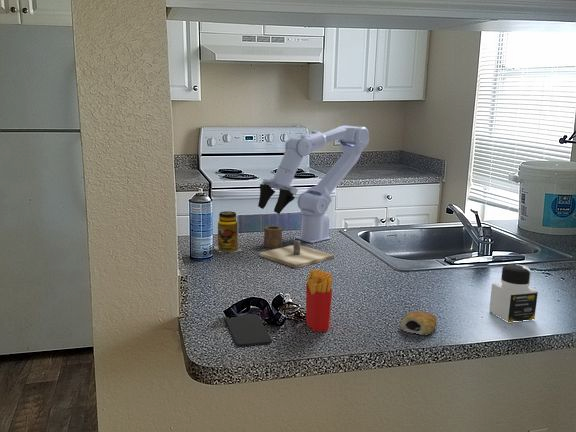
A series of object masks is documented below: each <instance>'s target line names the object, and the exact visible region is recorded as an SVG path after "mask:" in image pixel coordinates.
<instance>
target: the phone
mask: <svg viewBox="0 0 576 432" xmlns="http://www.w3.org/2000/svg"><path fill="white" fill-rule="evenodd" d="M240 315H241V316H237V315H236V316H237V317H231V318H229V317H227V316H226V317H224V321H225V323H226V326H227V328H228V330H229V332H230V334H231V337H232V339H233V341H234V343H235V345H236V347H239V348H241V347H242V348H243V347H252V346H261V345H270V344H272V341H273V339H272V337H271V335H270V333H269V332H268V331H267V329H266V327H265V325H264V324H263V322H262V320H261V319H260V317H259V316H258V314H254V313H252V314H240Z"/></svg>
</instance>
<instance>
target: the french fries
mask: <svg viewBox="0 0 576 432" xmlns="http://www.w3.org/2000/svg"><path fill="white" fill-rule="evenodd" d="M333 279H334V278H333V277H332V273H330V272H329V271H327V272H326V271H323V270H322V269H321V270H320V269H319V268H317V269H315V268H313V269H311V270H310V271H309V273H308V276H307V277H306V280H307V281H306V283H305V286H306V287H305V292H306V293H305V294H306V297H305V307H306V308H305V323H306V325H308V327H309V328H310V329H311V330H313V331H315V332H327V331H329V330H330V323H331V311H332V310H331V309H332V300H333V299H332V297H333V289H332V287H333V286H332V285H333Z"/></svg>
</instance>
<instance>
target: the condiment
mask: <svg viewBox="0 0 576 432" xmlns="http://www.w3.org/2000/svg"><path fill="white" fill-rule="evenodd" d="M218 217H219V218H218V219H219V220H218V222H217V245H215V246H214V248H213V249H214V250H215V251H217V249H218V248H219V249H218V250H219V251H221V252H229V253H228V254H230V253H237V252H243V251H244V250H242V249H241V248H239V247H238V220H237V213H236V212H235V211H230V210H229V211H220V212H219V215H218Z"/></svg>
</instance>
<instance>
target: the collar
mask: <svg viewBox="0 0 576 432" xmlns="http://www.w3.org/2000/svg"><path fill="white" fill-rule="evenodd" d="M282 237H283V227H282V226H278V225H265V226H264V230H263V247H264V248H268V249H278V248H282V240H283V239H282Z"/></svg>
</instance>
